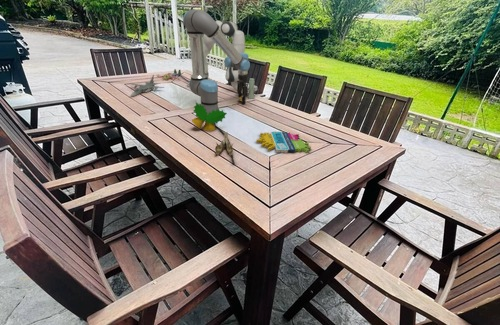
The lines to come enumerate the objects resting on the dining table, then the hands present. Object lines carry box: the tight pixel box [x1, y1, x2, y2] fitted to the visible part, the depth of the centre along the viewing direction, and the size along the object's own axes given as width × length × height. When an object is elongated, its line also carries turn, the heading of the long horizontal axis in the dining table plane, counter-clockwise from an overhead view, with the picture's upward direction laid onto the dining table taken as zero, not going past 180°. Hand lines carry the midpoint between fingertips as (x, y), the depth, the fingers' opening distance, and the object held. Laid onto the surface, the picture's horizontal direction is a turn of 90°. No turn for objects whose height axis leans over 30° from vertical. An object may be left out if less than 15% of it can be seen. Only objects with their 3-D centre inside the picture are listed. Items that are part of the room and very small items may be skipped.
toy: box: [155, 68, 182, 81], centre depth 281 cm, size 28×7×30 cm
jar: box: [247, 77, 256, 100], centre depth 228 cm, size 5×5×17 cm
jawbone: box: [214, 131, 234, 156], centre depth 136 cm, size 9×15×10 cm
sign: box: [256, 131, 312, 154], centre depth 152 cm, size 26×2×30 cm
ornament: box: [191, 102, 228, 132], centre depth 162 cm, size 21×8×15 cm, turn 105°
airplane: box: [130, 74, 165, 97], centre depth 228 cm, size 38×32×10 cm
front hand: (241, 103), depth 217 cm, fingers closed on lid, 5 cm apart
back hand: (251, 91), depth 228 cm, fingers closed on jar, 5 cm apart
